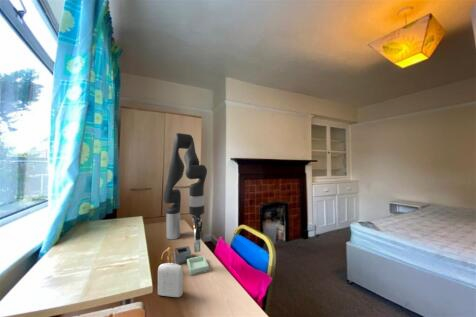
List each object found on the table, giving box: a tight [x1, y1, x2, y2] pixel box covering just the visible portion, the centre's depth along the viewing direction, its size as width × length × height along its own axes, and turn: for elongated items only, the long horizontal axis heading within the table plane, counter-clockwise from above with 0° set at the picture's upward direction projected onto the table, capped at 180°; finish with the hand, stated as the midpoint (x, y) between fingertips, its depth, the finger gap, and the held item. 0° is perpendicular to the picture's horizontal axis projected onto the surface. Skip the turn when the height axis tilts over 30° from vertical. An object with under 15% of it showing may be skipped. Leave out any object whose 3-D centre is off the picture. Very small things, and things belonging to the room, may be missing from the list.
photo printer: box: [157, 262, 184, 298], centre depth 81 cm, size 10×4×12 cm, turn 81°
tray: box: [186, 255, 210, 276], centre depth 100 cm, size 11×9×2 cm
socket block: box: [173, 245, 192, 265], centre depth 108 cm, size 8×8×5 cm
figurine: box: [160, 246, 179, 263], centre depth 96 cm, size 8×6×12 cm
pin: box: [192, 224, 201, 253], centre depth 100 cm, size 4×4×13 cm
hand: (197, 238), depth 100 cm, fingers closed on pin, 3 cm apart
